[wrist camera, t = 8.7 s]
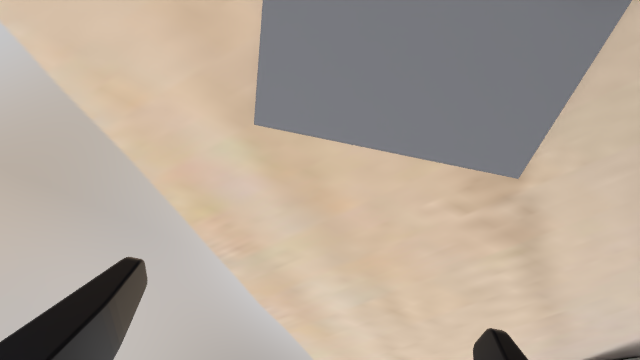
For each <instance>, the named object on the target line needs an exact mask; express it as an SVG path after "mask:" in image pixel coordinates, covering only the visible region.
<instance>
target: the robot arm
mask: <svg viewBox="0 0 640 360" xmlns="http://www.w3.org/2000/svg"><path fill="white" fill-rule="evenodd" d="M146 285H147V274H146V269H145V263H144V261H143V260H142V259H138V258H133V257H126V258H124V259H122V260H121V261H119V262H118V263H116V264H115V265H113V266H112V267H110V268H109V269H107V270H106V271H104V272H103V273H102V274H100V275H98V276H97V277H95V278H94V279H93V280H91V281H90V282H88V283H87V284H85V285H84V286H82V287H81V288H79V289H78V290H76V291H75V292H73V293H72V294H70V295H69V296H67V297H66V298H64V299H63V300H62V301H60V302H59V303H57V304H56V305H54V306H53V307H51V308H50V309H48V310H47V311H45V312H44V313H42V314H41V315H40V316H38V317H36V318H35V319H33V320H32V321H30V322H29V323H28V324H26V325H25V326H23V327H22V328H20V329H19V330H17V331H16V332H14V333H13V334H11V335H10V336H8V337H7V338H5V339H4V340H2V341H1V342H0V360H113V359H114V357H115V355H116V354H117V352H118V350H119V348H120V346H121V344H122V342H123V339H124V337H125V335H126V332H127V330H128V328H129V326H130V323H131V321H132V319H133V316H134V314H135V312H136V309H137V307H138V305H139V302H140V300H141V298H142V295H143V293H144V291H145V288H146ZM473 358H474V360H528V359H527V358H526V356H525V355H524V354H523V353H522V351H521V350H520V349H519V348H518V346H517V345H516V344H515V343H514V341H513V340H512V339H511V337H510V336H509V335H508V334H507V333H506V332H504V331H502V330H497V329H492V328H489V329H487V330H486V331H485V332H484V333H483V334H482V336H481V337H480V338H479V339H478V340H477V341H476V343H475V345H474V348H473Z"/></svg>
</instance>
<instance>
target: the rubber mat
mask: <svg viewBox="0 0 640 360" xmlns="http://www.w3.org/2000/svg"><path fill="white" fill-rule="evenodd" d="M631 1H632V0H263V6H262V20H261V34H260V48H259V62H258V76H257V90H256V104H255V118H254V125H259V126H264V127H269V128H273V129H278V130H283V131H288V132H293V133H298V134H303V135H308V136H312V137H317V138H322V139H327V140H332V141H337V142H342V143H347V144H351V145H356V146H361V147H366V148H371V149H376V150H381V151H386V152H390V153H395V154H400V155H405V156H410V157H415V158H420V159H424V160H429V161H434V162H439V163H444V164H449V165H454V166H459V167H463V168H468V169H473V170H478V171H483V172H488V173H493V174H498V175H502V176H507V177H512V178H517V179H518V178H519V177H520V175H521V174H522V172H523V171H524V169H525V167H526V166H527V164H528V163H529V161H530V160H531V158H532V156H533V155H534V153H535V152H536V150H537V149H538V147H539V145H540V144H541V142H542V141H543V139H544V138H545V136H546V134H547V133H548V131H549V130H550V128H551V127H552V125H553V123H554V122H555V120H556V119H557V117H558V116H559V114H560V112H561V111H562V109H563V108H564V106H565V105H566V103H567V101H568V100H569V98H570V97H571V95H572V94H573V92H574V90H575V89H576V87H577V86H578V84H579V83H580V81H581V79H582V78H583V76H584V75H585V73H586V72H587V70H588V68H589V67H590V65H591V64H592V62H593V61H594V59H595V57H596V56H597V54H598V53H599V51H600V50H601V48H602V46H603V45H604V43H605V42H606V40H607V39H608V37H609V36H610V34H611V32H612V31H613V29H614V28H615V26H616V25H617V23H618V21H619V20H620V18H621V17H622V15H623V14H624V12H625V10H626V9H627V7H628V6H629V4H630V3H631Z"/></svg>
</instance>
